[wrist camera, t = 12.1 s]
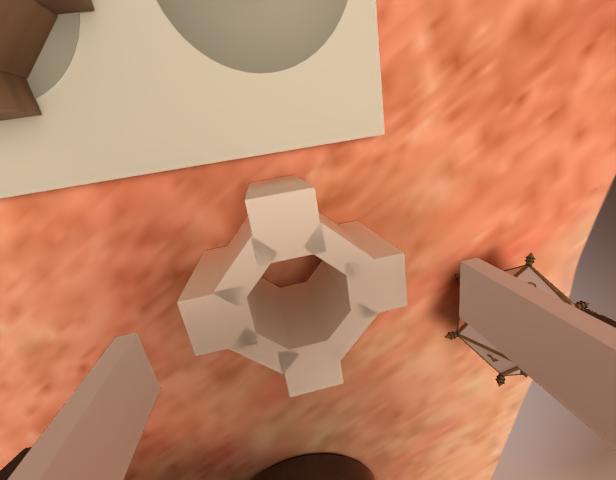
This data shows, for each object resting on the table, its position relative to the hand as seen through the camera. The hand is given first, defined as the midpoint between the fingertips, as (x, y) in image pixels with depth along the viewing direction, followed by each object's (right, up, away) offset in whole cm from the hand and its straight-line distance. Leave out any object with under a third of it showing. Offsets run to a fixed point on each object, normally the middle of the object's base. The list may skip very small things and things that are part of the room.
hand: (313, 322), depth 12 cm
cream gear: (-2, +2, +9) cm, 9 cm away
